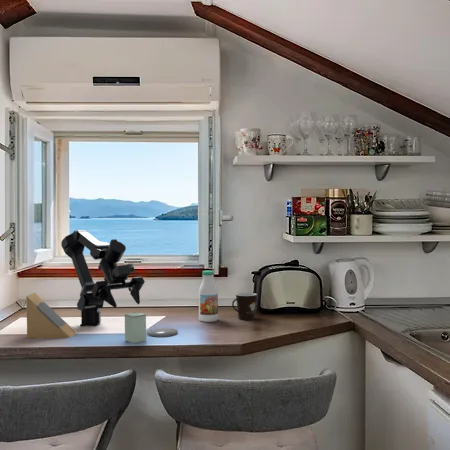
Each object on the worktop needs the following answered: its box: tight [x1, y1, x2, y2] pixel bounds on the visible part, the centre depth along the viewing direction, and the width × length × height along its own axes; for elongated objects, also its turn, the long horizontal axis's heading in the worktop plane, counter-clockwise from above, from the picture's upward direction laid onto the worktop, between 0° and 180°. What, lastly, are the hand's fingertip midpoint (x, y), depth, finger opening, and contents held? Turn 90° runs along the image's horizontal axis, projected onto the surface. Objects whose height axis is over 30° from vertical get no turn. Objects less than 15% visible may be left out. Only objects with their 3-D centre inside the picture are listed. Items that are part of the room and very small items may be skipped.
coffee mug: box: [231, 292, 258, 321], centre depth 206 cm, size 12×9×10 cm
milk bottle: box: [198, 269, 219, 323], centre depth 204 cm, size 8×8×20 cm
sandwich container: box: [25, 292, 77, 339], centre depth 182 cm, size 9×15×15 cm, turn 92°
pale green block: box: [124, 311, 147, 344], centre depth 173 cm, size 5×5×9 cm
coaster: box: [146, 327, 179, 338], centre depth 183 cm, size 11×11×1 cm
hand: (127, 305), depth 176 cm, fingers open, 9 cm apart
